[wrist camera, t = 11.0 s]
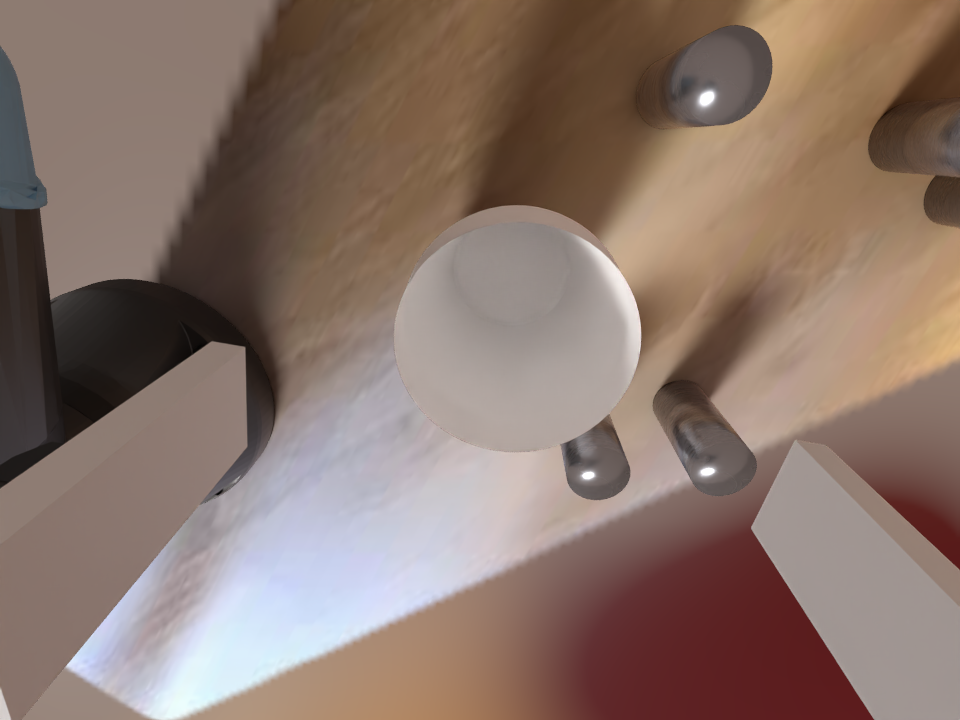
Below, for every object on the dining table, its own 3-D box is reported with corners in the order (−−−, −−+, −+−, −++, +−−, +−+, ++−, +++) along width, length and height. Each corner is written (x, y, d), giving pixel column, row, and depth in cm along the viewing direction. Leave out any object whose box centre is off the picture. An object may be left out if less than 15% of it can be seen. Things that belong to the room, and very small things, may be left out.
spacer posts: (549, 424, 33) (560, 494, 26) (647, 50, 24) (698, 17, 18) (834, 473, 33) (914, 553, 27) (1029, 123, 25) (1213, 117, 18)
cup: (453, 165, 27) (417, 181, 16) (615, 211, 27) (690, 258, 16) (418, 321, 30) (368, 423, 19) (561, 359, 31) (593, 479, 20)
